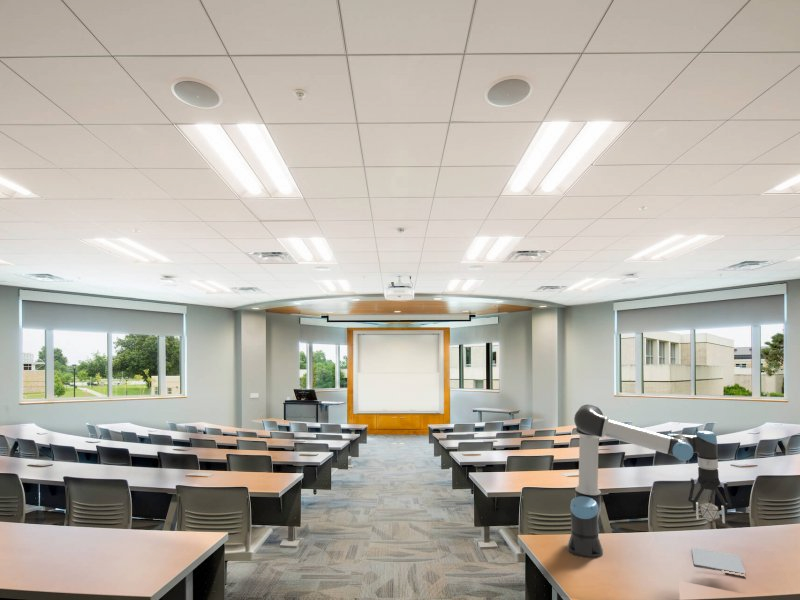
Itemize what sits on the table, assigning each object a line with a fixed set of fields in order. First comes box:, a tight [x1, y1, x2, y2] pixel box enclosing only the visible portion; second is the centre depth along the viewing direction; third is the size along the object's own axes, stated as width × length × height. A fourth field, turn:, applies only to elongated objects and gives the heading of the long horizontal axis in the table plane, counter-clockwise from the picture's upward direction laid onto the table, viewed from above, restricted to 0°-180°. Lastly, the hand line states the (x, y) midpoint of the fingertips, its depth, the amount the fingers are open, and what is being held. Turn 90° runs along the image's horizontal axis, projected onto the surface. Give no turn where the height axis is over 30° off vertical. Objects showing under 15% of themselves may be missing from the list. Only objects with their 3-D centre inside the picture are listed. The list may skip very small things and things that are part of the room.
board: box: [691, 547, 746, 575], centre depth 215 cm, size 18×18×2 cm
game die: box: [698, 500, 722, 524], centre depth 217 cm, size 9×8×10 cm
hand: (710, 520), depth 216 cm, fingers closed on game die, 9 cm apart
